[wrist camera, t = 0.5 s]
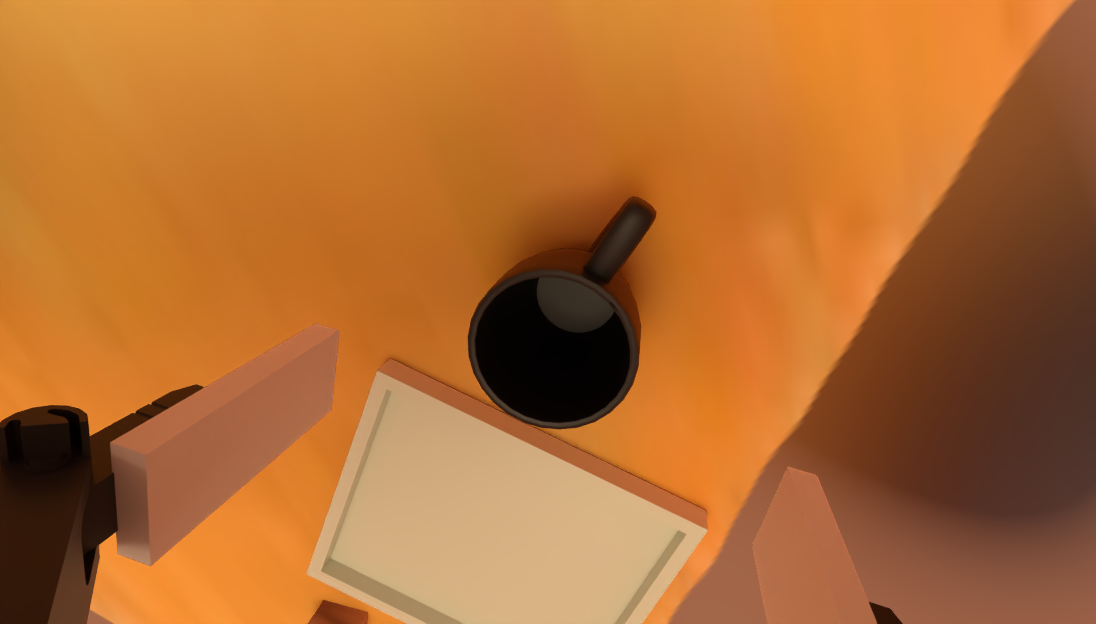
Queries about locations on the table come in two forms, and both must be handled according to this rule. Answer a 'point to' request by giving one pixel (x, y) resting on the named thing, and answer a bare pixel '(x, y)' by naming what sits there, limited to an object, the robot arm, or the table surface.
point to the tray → (492, 518)
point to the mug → (563, 329)
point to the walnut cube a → (338, 615)
